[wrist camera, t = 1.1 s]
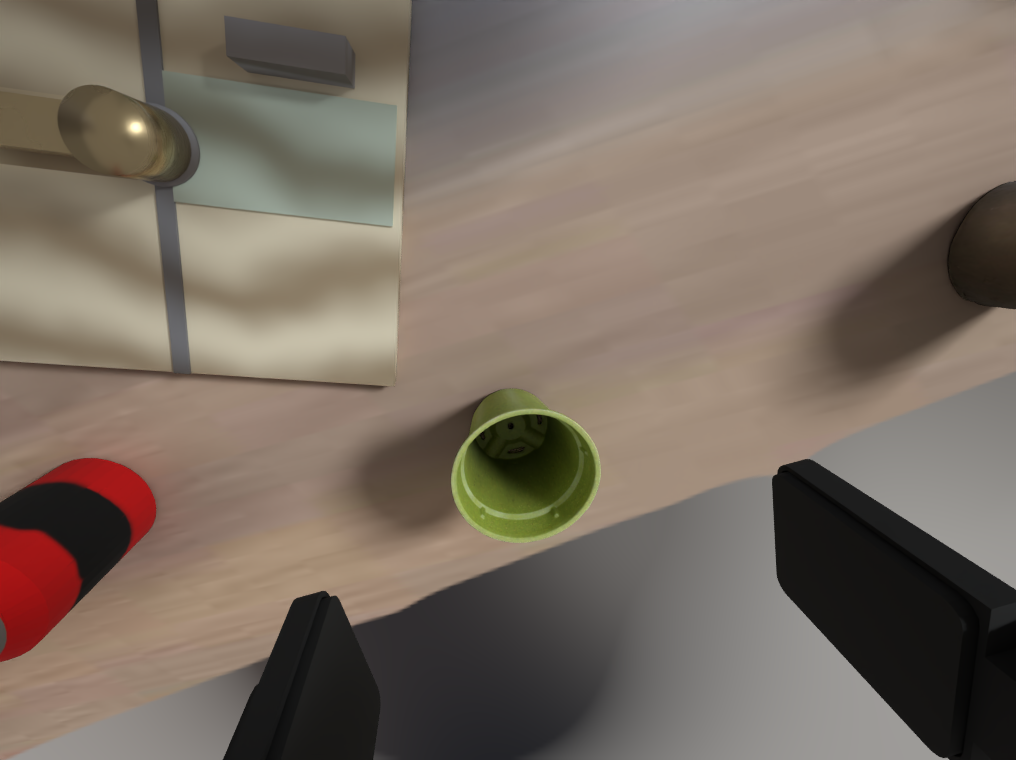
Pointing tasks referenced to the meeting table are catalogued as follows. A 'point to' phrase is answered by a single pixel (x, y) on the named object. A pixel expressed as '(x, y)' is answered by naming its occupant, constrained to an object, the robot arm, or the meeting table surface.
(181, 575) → the meeting table surface
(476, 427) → the plant pot
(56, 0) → the lock board
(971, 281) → the pillar candle
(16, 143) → the swing bar
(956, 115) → the meeting table surface
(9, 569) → the soda can
